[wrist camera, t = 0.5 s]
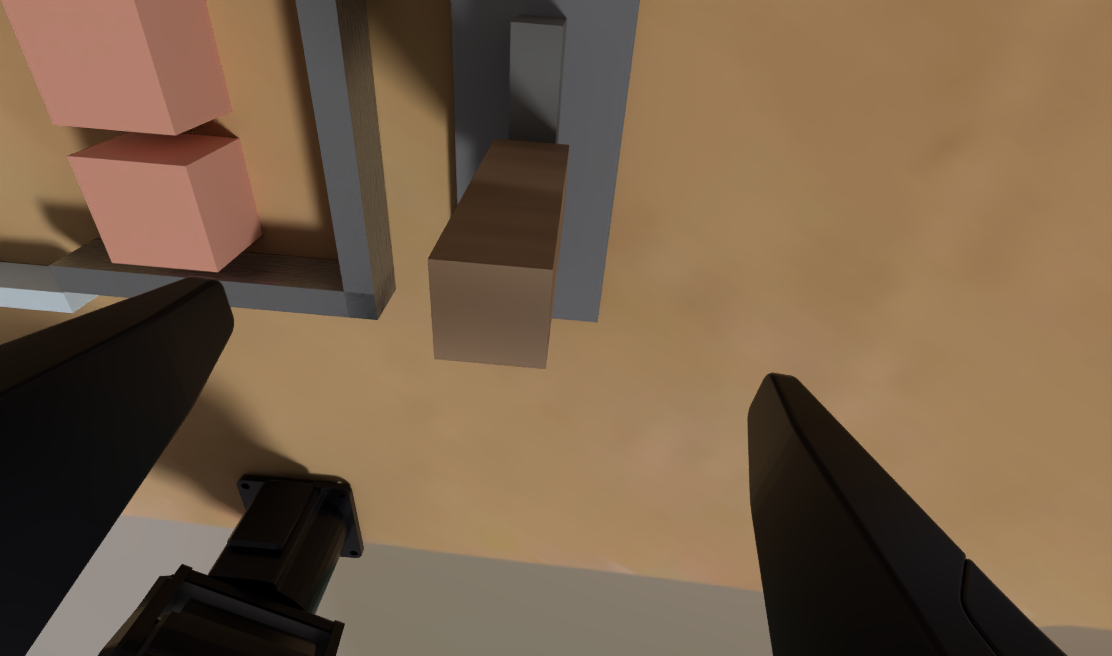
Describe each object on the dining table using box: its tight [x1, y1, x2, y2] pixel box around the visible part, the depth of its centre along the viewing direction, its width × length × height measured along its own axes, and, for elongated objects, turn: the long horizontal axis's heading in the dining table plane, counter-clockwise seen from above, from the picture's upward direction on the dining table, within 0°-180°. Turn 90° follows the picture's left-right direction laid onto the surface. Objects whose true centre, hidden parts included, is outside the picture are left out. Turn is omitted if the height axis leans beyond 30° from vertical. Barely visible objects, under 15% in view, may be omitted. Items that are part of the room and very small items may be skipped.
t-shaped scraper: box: [428, 14, 570, 369], centre depth 16 cm, size 9×2×11 cm, turn 176°
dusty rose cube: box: [1, 0, 232, 136], centre depth 18 cm, size 4×4×4 cm
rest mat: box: [451, 0, 640, 322], centre depth 21 cm, size 14×6×1 cm, turn 176°
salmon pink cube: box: [67, 132, 263, 272], centre depth 21 cm, size 4×4×4 cm
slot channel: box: [48, 0, 396, 320], centre depth 20 cm, size 13×13×2 cm
